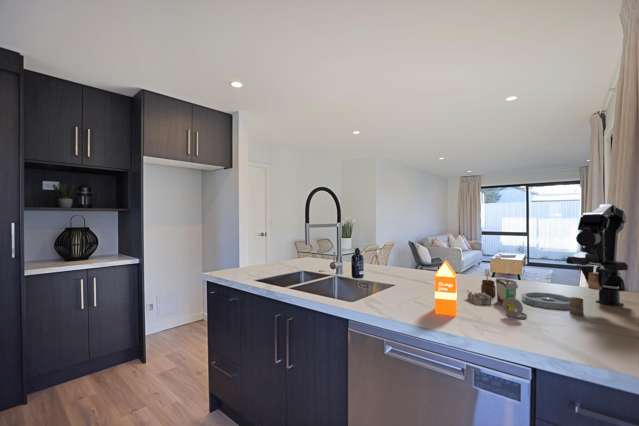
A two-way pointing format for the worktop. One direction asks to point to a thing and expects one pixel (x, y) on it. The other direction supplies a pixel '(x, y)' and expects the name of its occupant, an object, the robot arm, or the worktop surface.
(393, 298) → the worktop surface
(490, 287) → the utensil holder
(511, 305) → the pocket watch
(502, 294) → the food container
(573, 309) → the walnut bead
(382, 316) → the worktop surface
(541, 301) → the groove tray
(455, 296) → the orange juice
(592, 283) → the brown cork stopper
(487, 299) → the egg carton
